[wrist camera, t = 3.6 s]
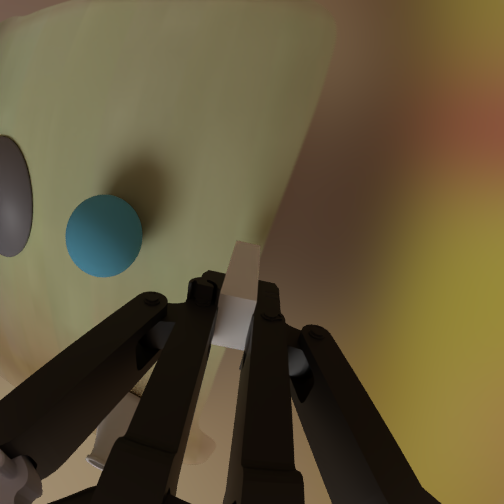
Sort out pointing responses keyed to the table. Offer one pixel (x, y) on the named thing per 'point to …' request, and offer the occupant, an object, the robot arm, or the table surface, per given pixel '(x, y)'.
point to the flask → (112, 430)
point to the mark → (14, 199)
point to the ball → (104, 235)
